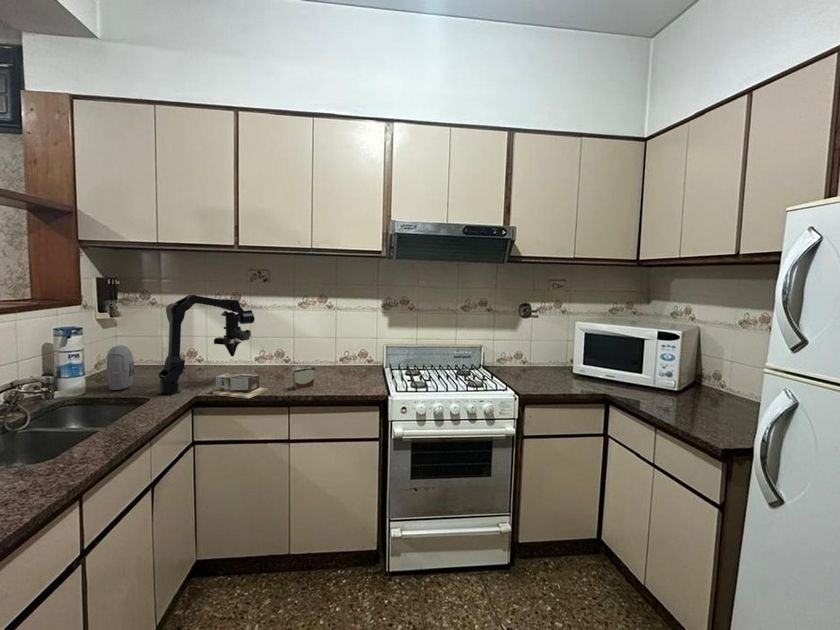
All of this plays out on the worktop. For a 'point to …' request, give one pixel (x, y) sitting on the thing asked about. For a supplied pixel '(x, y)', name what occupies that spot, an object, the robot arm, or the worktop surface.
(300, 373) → the food container
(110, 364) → the grey rounded bag
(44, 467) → the worktop surface
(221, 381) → the coffee box
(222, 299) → the robot arm
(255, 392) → the cutting board
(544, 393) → the worktop surface
